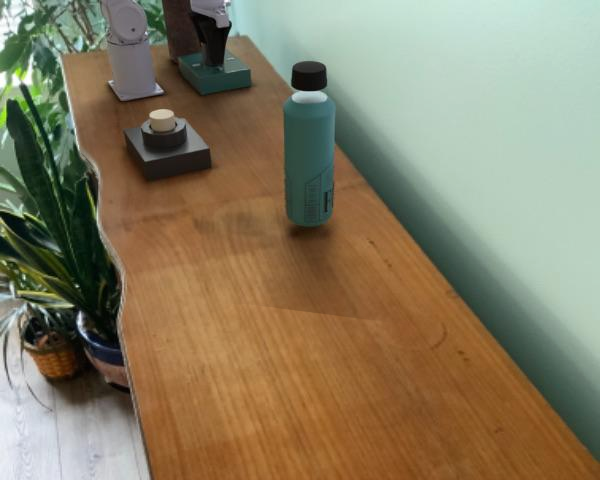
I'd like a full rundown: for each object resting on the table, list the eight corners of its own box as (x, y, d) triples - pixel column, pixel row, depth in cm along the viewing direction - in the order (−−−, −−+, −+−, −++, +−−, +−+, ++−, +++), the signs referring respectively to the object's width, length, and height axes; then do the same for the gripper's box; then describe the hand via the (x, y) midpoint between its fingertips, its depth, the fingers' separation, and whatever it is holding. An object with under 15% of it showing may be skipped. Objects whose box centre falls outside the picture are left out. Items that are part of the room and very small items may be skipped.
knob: (199, 60, 118) (197, 37, 115) (219, 57, 119) (217, 34, 116) (207, 67, 115) (204, 44, 113) (227, 63, 117) (225, 40, 114)
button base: (126, 148, 100) (120, 116, 96) (186, 135, 103) (182, 104, 99) (148, 181, 92) (142, 148, 89) (212, 167, 95) (208, 134, 92)
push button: (148, 125, 95) (146, 111, 93) (171, 121, 96) (169, 107, 94) (155, 134, 93) (153, 121, 91) (178, 130, 94) (176, 116, 92)
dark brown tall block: (165, 55, 128) (147, -65, 114) (199, 49, 131) (186, -68, 116) (176, 67, 124) (159, -56, 109) (211, 61, 126) (199, -60, 111)
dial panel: (180, 73, 122) (177, 55, 119) (228, 64, 125) (226, 47, 122) (201, 94, 114) (199, 76, 112) (251, 85, 117) (250, 67, 115)
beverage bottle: (328, 240, 82) (334, 77, 67) (279, 234, 83) (274, 73, 68) (336, 214, 86) (344, 56, 71) (289, 209, 87) (287, 52, 72)
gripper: (243, -19, 104) (248, 68, 114) (212, -39, 113) (219, 44, 123) (203, -14, 102) (211, 75, 112) (174, -34, 111) (185, 49, 120)
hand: (213, 59), depth 117 cm, fingers closed on knob, 4 cm apart
